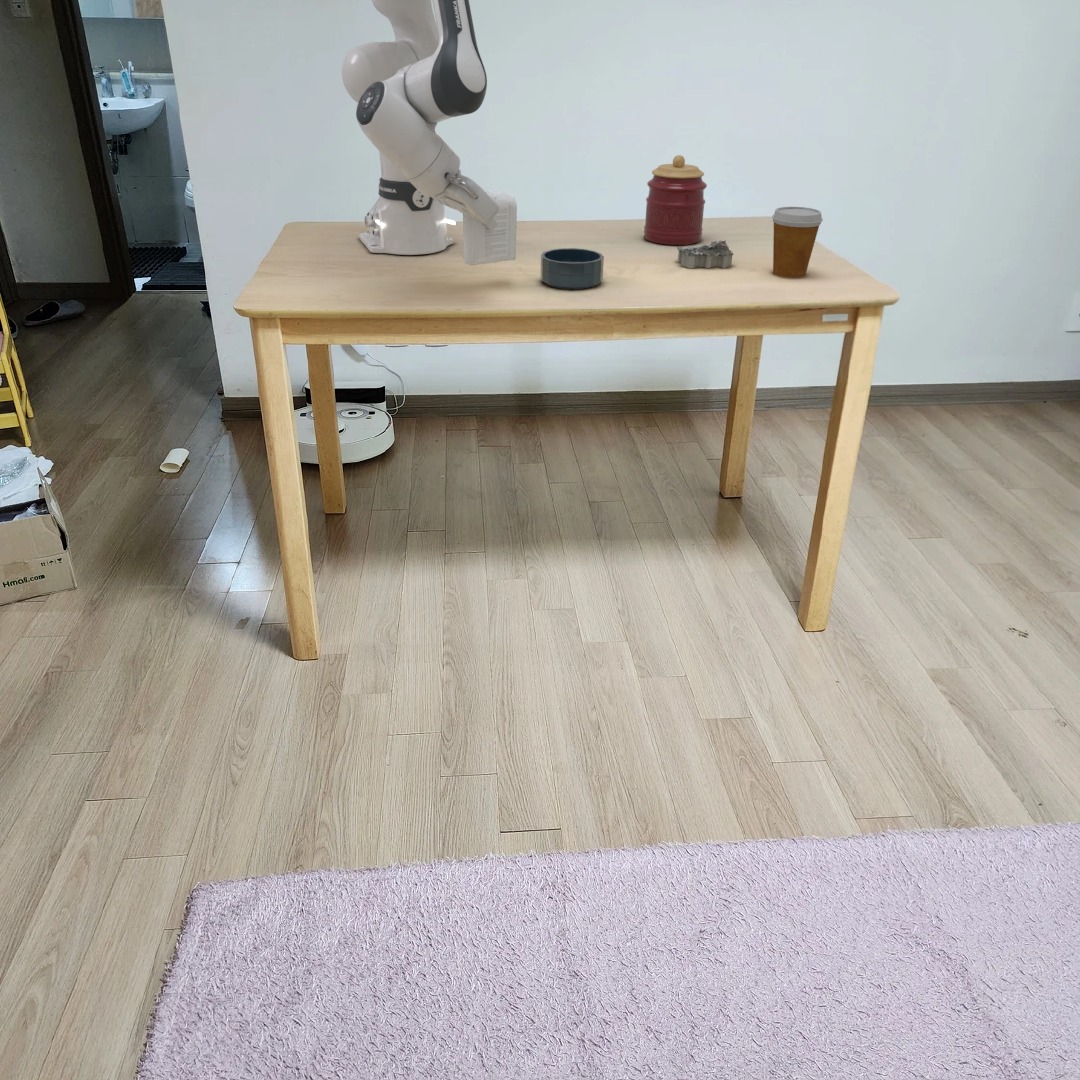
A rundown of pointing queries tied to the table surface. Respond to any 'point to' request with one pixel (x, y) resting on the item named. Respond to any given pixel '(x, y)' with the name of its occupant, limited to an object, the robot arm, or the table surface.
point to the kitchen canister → (675, 204)
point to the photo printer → (491, 233)
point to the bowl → (572, 268)
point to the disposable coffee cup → (794, 240)
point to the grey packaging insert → (706, 255)
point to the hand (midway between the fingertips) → (485, 223)
